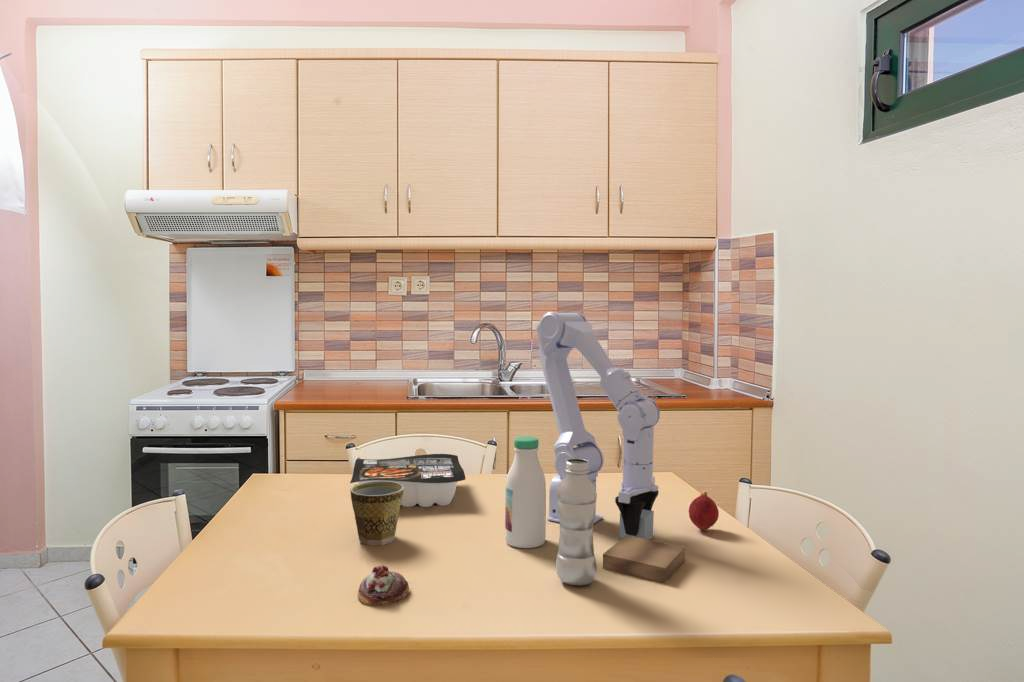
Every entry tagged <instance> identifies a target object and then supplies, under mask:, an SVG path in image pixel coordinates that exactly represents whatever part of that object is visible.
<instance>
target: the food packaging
mask: <svg viewBox="0 0 1024 682" xmlns="http://www.w3.org/2000/svg"><path fill="white" fill-rule="evenodd" d="M373 481H389V482H396V483H399V484H401V485H403V487H404V490H403V497H402V502H401V506H402V507H405V508H408V507H409V508H410V507H415V506H416V505H417V504H418V505H419V506H420V507H422V508H423V507H426V508H427V507H433V505H434V504H437V505H438V506H448V505H450V504H451V502H452V500H453V498H454V496H455V494H456V491H457V484H458V482H461V481H466V475H465V470H464V468H463V467H462V466H461V464H460V461H459V456H458V455H456V454H451V453H450V454H449V453H430V454H419V455H411V456H404V457H403V456H402V457H394V458H392V457H391V458H381V459H380V458H379V459H378V458H377V459H366V458H356V459H355V461H354V466H353V472H352V476H351V479H350V482H349V484H352V483H357V482H358V484H361V483H366V482H373Z"/></svg>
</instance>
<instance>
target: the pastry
mask: <svg viewBox="0 0 1024 682" xmlns="http://www.w3.org/2000/svg"><path fill="white" fill-rule="evenodd" d="M409 593H410V587H409V582H408V581H407V580H406V578H405V577H404V576H403V575H401V574H400V573H399V572H396V571H392V570H390V569H389V567H388V566H386V565H383V564H382V565H378V566H377V565H376V566H373V568H372V571H371V572H370V573H369V574H368V575H367V576H365V578H363V580H362V581H361V582H360V585H359V588H358V591H357V598H358V601H360V602H361V603H362V604H365V605H368V606H389V605H392V604H393V605H394V604H395V603H399V602H401V601H403V600H405V598H406V597H407V596H408V595H409Z"/></svg>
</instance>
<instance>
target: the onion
mask: <svg viewBox="0 0 1024 682" xmlns="http://www.w3.org/2000/svg"><path fill="white" fill-rule="evenodd" d="M719 513H720V512H719V508H718V505H717V504H716V502H715V501H714V500H713V499H712V498H711V497H710V496H708V492H707V491H705V490H703V491H701V493H700V495H698V496H697V497H696V498H694V499H692V501H691V503H690V504H689V506H688V514H689V515H688V516H689V519H690V521H691V523H692V524H693V525H694V526H695V527H696V528H697V529H699V530H700V531H702V532H703V531H706V530H708V529H710V528H712V527H713V526H714V525H715V524H717V522H718V520H719V516H720V515H719Z"/></svg>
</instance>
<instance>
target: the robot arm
mask: <svg viewBox="0 0 1024 682" xmlns="http://www.w3.org/2000/svg"><path fill="white" fill-rule="evenodd" d="M535 329H536V334H537V336H538V340H539V341H538V342H539V359H540V360H539V361H540V364H541V369H542V371H543V376H544V379H545V384H546V388H547V391H548V395H549V400H550V402H551V403H550V404H551V406H552V411H553V415H554V417H555V422H556V425H557V430H558V435H559V437H558V439H557V440H556V442H555V444H554V445H553V450H554V469H555V471H556V473H557V475H554V476H553V477H552V479H551V481H550V484H549V490H548V516H546V520H548V521H552V522H557V523H560V522H559V510H558V503H557V489H558V486H559V485H560V483H561V482H562V480H563V479H564V478H565V477H566V475H567V473H566V472H565V468H566V460H568V459H584V460H587V461H589V473H588V474H587V476H588V478H589V479H590V481H591V482H592V484H593V485H594V487H595V490H596V491H597V478H598V477H599V474H598V473H599V472H600V471H601V469H602V468H603V466H604V462H605V459H604V454H603V452H602V449H600V447H599V446H598V444H597V442H596V438H595V436H593V434H592V433H590V432H589V431H587V429H586V428H585V424H584V420H583V416H582V413H581V410H580V405H579V402H578V399H577V395H576V392H575V387H574V383H573V379H572V375H571V371H570V368H569V365H568V361H567V359H568V357H569V355H570V353H571V351H573V350H574V349H576V350H578V352H580V354H581V355H582V356H583V357H584V358H585V360H586V361H587V362H588V363H589V365H590V366H591V367H592V368H593V369H594V371H595V372H596V373H597V374H598V376H600V382H599V385H600V388H601V389H602V391H603V392H604V394H605V395H606V396H607V398H608V399H609V400H610V402H611V404H612V405H613V406H614V407H615V409H616V410H617V411H618V413H619V414H617V421H618V424H619V426H620V427H621V429H622V436H623V448H622V449H623V450H622V451H623V453H622V454H623V456H622V482H621V483H620V485H621V486H620V491H618V495H617V496H616V497H615V498H614V499H615V501H614V502H615V504H616V507H617V508H618V509H619V512H620V513H621V515H622V519H623V524H624V528H625V532H626V534H629V535H633V536H636V535H637V533H638V529H639V523H640V517H641V513H642V510H643V509H645V510H651V511H652V510H653V506H654V504H655V502H656V499H657V497H658V496H659V492H660V491H659V485H656V484H655V483H656V480H655V479H656V476H654V475H653V474H654V473H653V472H654V471H653V470H654V434H655V433H654V432H655V431H654V429H655V426H656V425H657V424H658V423H659V420H660V418H661V417H660V414H661V413H660V409H659V406H658V405H657V403H656V401H655V400H654V399H652V398H649V397H646V396H645V394H644V393H643V391H641V390H640V389H639V388H638V387H637V385H636V384H635V383H634V382H633V380H632V379H631V377H632V375H631V373H630V372H629V371H625V369H624V368H618V367H615V366H614V363H613V362H612V361H611V359H610V358H609V356H608V354H607V352H606V351H605V350H604V347H602V345H601V344H600V342H599V340H598V338H597V337H596V335H595V334H594V332H593V326H592V324H591V323H590V321H588V320H587V318H586V316H585V315H584V314H583V313H582V312H579V311H573V312H555V311H548V312H546V313H544V314H543V315H542V317H541V318H540V321H539V323H538V324H537V326H536V328H535ZM575 446H576V447H575ZM596 506H597V505H596ZM596 506H595V512H594V522H593V525H594V524H596V523H597V522H598V521H601V519H603V518H604V515H602V514H598V513H596V512H597V510H596V509H597V508H596ZM620 513H619V514H620Z"/></svg>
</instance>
